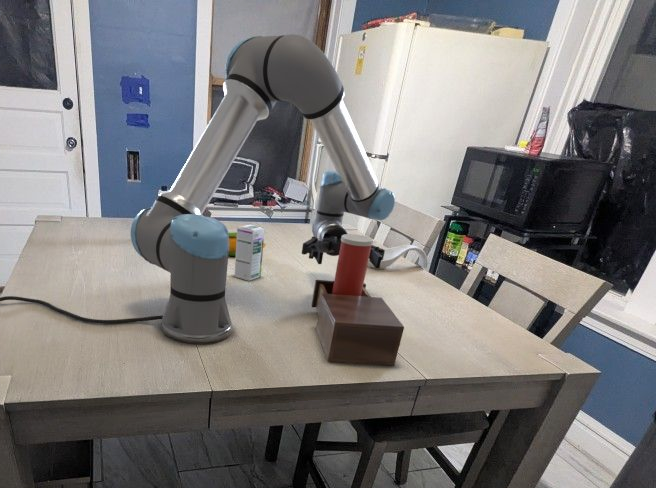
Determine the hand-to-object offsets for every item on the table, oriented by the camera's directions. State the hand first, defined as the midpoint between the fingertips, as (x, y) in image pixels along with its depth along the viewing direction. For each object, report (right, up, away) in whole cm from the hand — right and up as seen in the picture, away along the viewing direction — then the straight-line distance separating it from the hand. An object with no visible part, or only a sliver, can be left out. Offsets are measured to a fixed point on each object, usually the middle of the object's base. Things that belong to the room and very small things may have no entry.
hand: (350, 260), depth 112 cm
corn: (-26, +14, +52) cm, 59 cm away
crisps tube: (-1, -12, +4) cm, 13 cm away
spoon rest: (+27, +11, +52) cm, 60 cm away
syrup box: (-23, +3, +31) cm, 39 cm away
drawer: (-1, -12, +6) cm, 14 cm away
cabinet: (-1, -20, -7) cm, 21 cm away
